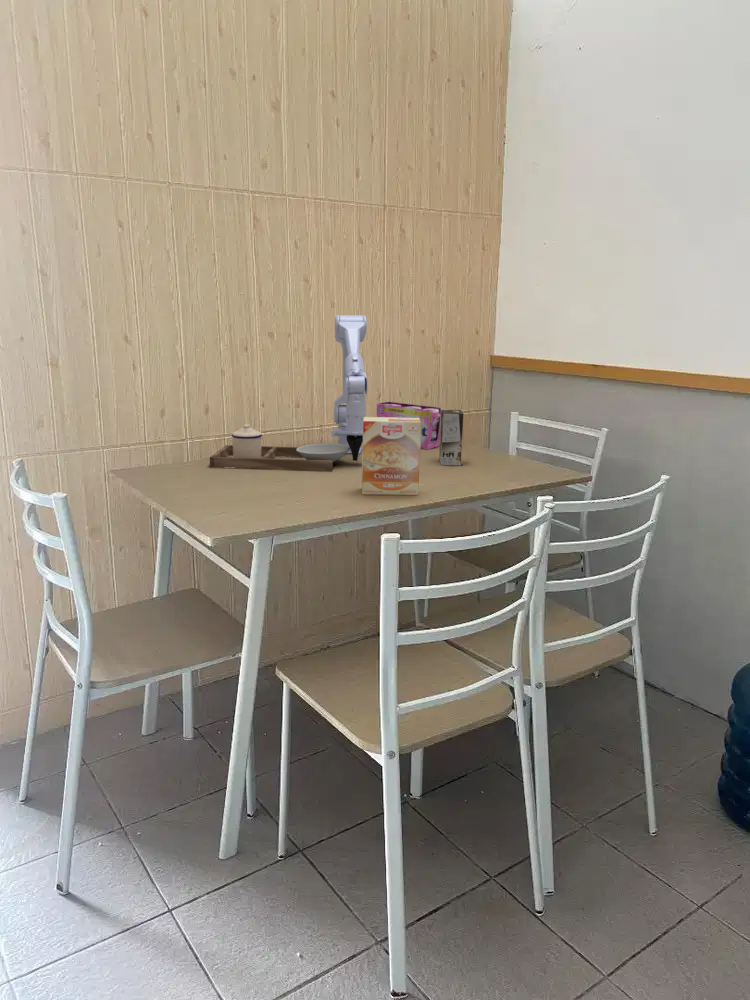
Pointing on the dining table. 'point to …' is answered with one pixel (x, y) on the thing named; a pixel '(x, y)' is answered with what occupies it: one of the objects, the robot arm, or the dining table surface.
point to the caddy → (269, 460)
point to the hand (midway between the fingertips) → (355, 460)
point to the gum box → (424, 413)
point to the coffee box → (451, 437)
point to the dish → (323, 451)
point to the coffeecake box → (391, 455)
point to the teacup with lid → (247, 443)
